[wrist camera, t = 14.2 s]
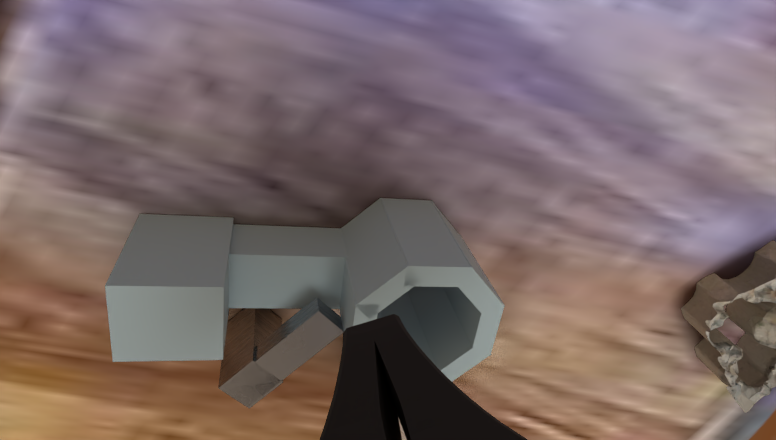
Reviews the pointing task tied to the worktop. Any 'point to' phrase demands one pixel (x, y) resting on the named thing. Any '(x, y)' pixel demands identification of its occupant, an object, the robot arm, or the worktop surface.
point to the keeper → (272, 348)
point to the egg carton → (752, 314)
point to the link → (301, 282)
